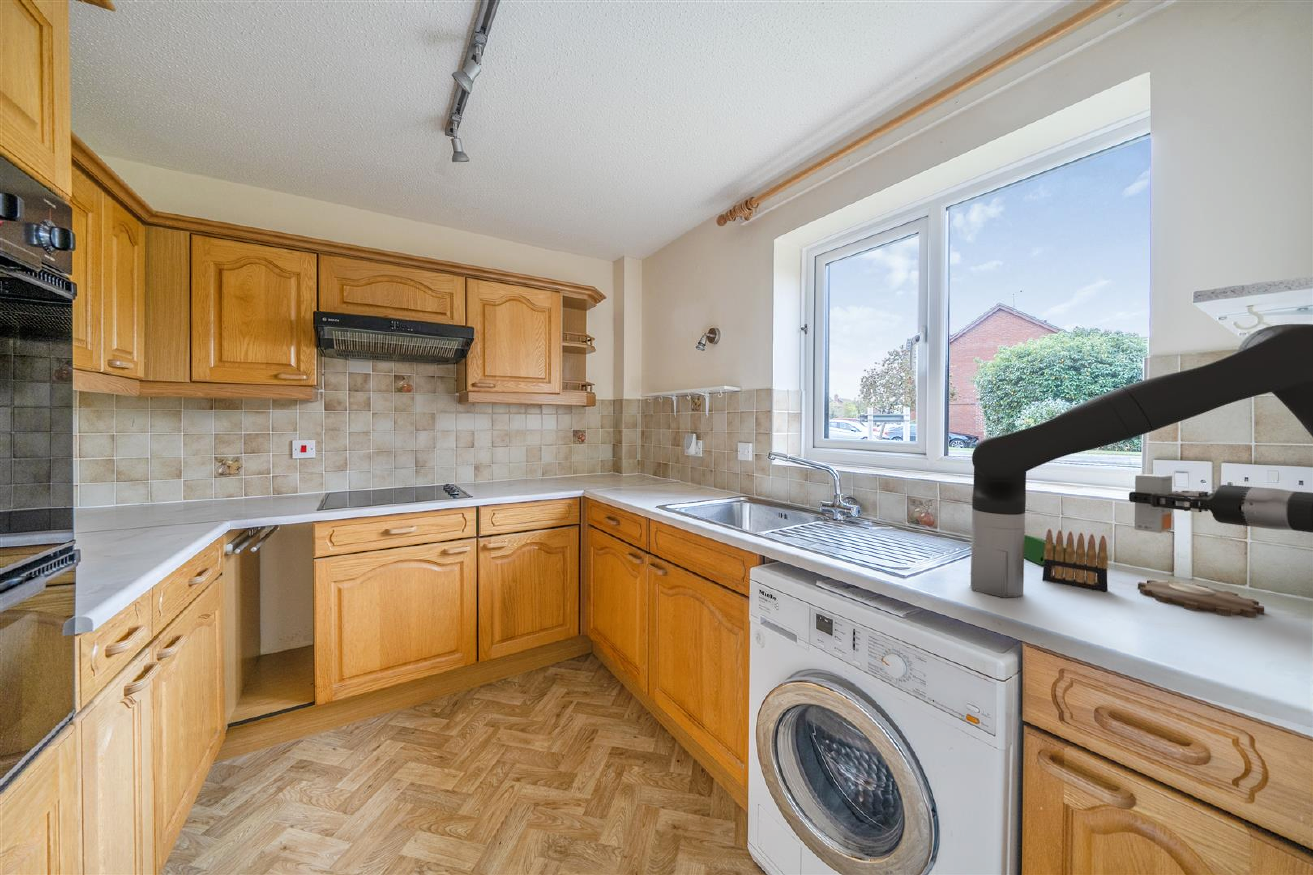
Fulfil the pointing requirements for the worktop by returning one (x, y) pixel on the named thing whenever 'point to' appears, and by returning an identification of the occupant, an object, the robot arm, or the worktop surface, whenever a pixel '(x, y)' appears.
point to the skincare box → (1147, 514)
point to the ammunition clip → (1076, 562)
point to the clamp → (1035, 549)
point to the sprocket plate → (1201, 598)
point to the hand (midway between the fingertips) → (1139, 495)
